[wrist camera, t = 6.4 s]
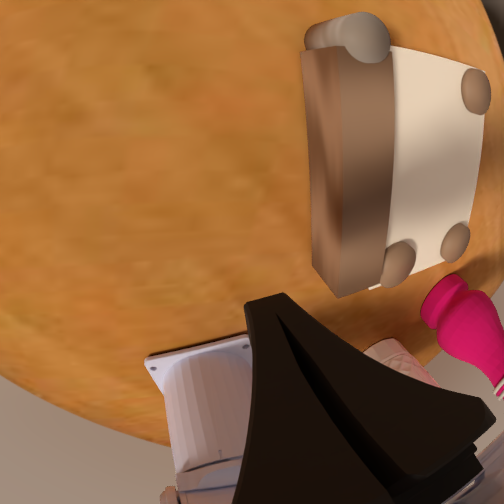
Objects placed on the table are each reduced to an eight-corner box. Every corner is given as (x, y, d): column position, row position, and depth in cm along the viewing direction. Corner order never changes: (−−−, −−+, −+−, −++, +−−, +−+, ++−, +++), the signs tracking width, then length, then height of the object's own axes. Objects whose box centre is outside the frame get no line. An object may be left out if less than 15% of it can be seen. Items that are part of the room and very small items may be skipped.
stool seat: (441, 240, 23) (464, 258, 20) (350, 269, 21) (374, 295, 18) (459, 67, 15) (491, 72, 12) (354, 46, 13) (390, 43, 10)
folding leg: (296, 21, 11) (335, 7, 8) (346, 25, 12) (392, 17, 9) (311, 265, 19) (339, 302, 16) (350, 254, 20) (382, 286, 17)
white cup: (407, 322, 28) (463, 389, 19) (396, 362, 32) (439, 421, 24) (343, 354, 27) (395, 437, 19) (341, 391, 31) (380, 459, 23)
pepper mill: (449, 260, 25) (582, 396, 8) (467, 280, 28) (573, 392, 12) (406, 316, 27) (519, 463, 11) (431, 327, 30) (524, 445, 14)
